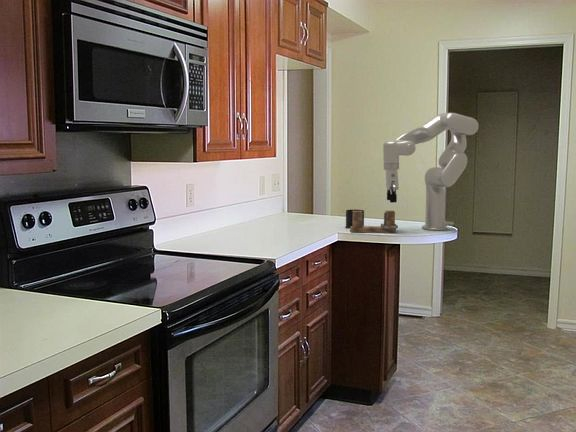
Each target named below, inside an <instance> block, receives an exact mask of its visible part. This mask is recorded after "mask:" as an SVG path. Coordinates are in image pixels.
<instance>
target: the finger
mask: <svg viewBox="0 0 576 432" xmlns="http://www.w3.org/2000/svg"><path fill="white" fill-rule="evenodd" d="M383 213H384V214H383V224H384V225H385V226H395V224H396V222H395V221H396V211H394V210H385V211H384V212H383Z"/></svg>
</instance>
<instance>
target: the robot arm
mask: <svg viewBox="0 0 576 432" xmlns="http://www.w3.org/2000/svg"><path fill="white" fill-rule="evenodd" d="M479 126H480V125H479V122H478V120H476V119H475V118H474V117H472V116H471V117H470V116H466V115H463V114H459V113H456V112H441V113H439V114H436V116H434V117H432V118H431V119H429V120H428V121H426V122H425V123H424V124H422V125H421V126H419V127H416V128H415V129H412V130H410V131H408V132H406V133H404V134H402V135H401V136H400V137H398V138H397V139H396V138H395V140H392V141H391V140H390V141H385V142H384V143H383V144H382V147H383V149H382V150H383V151H382V152H383V156H382V157H383V170H384V171H385V186H386V187H385V188H386V201H389V203H397V200H398V198H397V196H398V195H397V191H398V190H399V175H398V173H399V172H398V170H400V156H404V157H408V156H412V155H413V154H414V153H415V151H416V148H417V147H416V145H419V144H424V143H427V142H429V141H431V140H433V139H435V138H436V137H438V136H439V135H440V134H442V133H443V132H444V131H449V132H450V136H451V137H450V141H449V144H448V145H447V146H446V147H445V149H444V151H443V152H442V153H441V155H440V156H439V158H438V165H439V167H438V166H436V167H435V166H434V167H430V168H428V169H427V170H426V172H425V174H424V183H425V184H424V185H425V217H424V221H425V223H424V225H422V226H421V229H422V230H427V231H446V230H448V226H450V227H451V226H454V224H455V223H454V221H447V220H445V215H446V214H445V213H446V212H445V209H446V192H445V188H450V187H451V186H453V185H454V184H455V183H456V182H457V180H458V179H459V178H460V176H461V175H462V174H463V172H464V171H465V169H466V167H467V164H468V156H467V155H466V153H465V150H466V149H467V136H473V135H475V134H476V133H477V132H478V130H479Z"/></svg>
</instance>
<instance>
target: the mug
mask: <svg viewBox="0 0 576 432" xmlns="http://www.w3.org/2000/svg"><path fill="white" fill-rule="evenodd" d="M353 211H362V213H363V226H365V210H364V209H355V208H354V209H346V211H345V227H346V228H347V229H349V228H350V226H352V222H353Z"/></svg>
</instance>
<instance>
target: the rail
mask: <svg viewBox="0 0 576 432" xmlns="http://www.w3.org/2000/svg"><path fill="white" fill-rule="evenodd" d="M397 229H399V225H397V224H396V223H395V226H385V225H384V223H380V226H379V225H378V226H377V225H376V226H374V225H373V226H369V225H364V226H363V213H362V211H353V222H352V226H350V229H349V230H350V231H349V232H350V233H351V234H381V233H382V234H397Z"/></svg>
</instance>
